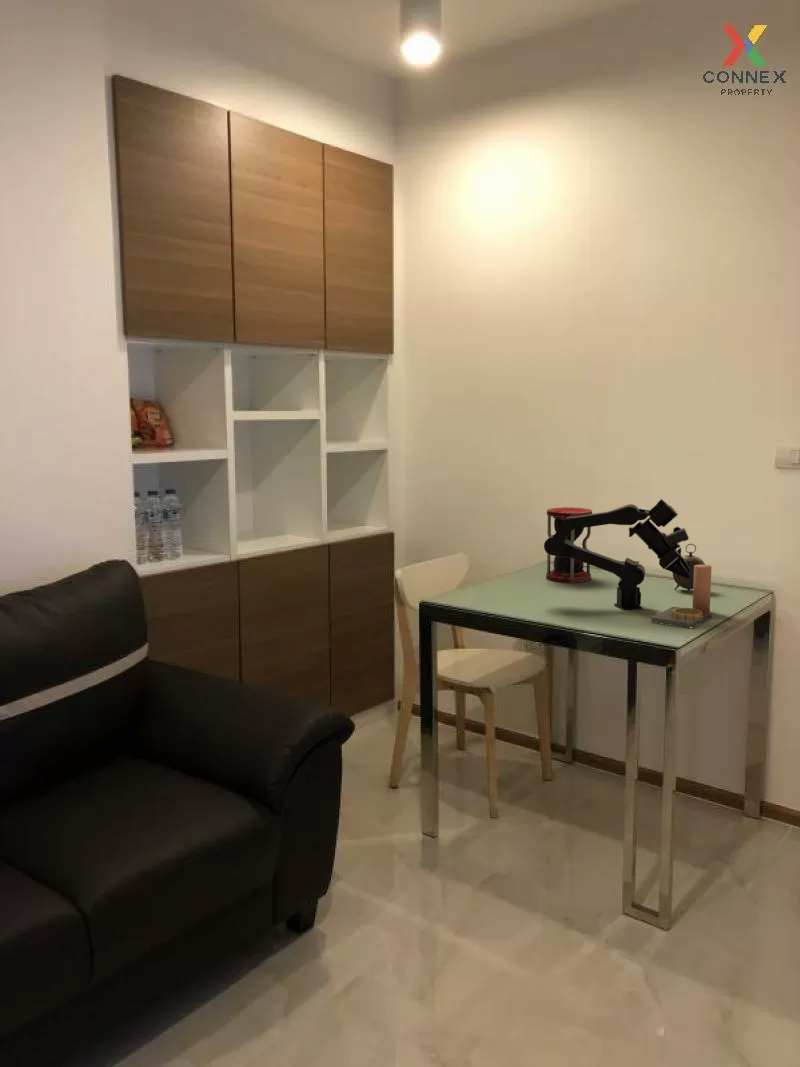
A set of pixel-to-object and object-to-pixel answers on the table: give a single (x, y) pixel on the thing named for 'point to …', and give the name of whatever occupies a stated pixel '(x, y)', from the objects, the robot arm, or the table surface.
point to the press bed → (682, 616)
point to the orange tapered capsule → (702, 587)
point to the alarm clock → (690, 562)
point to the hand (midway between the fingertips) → (689, 574)
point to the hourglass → (566, 566)
